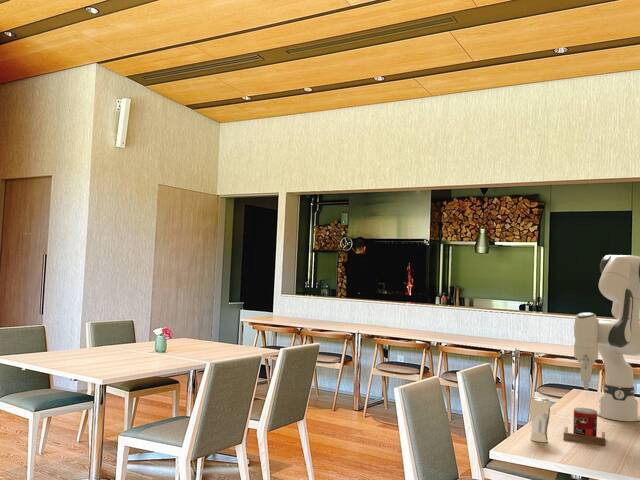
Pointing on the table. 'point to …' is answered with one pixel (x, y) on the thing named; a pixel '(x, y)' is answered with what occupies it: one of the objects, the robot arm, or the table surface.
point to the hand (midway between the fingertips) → (586, 388)
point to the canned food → (585, 422)
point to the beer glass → (539, 418)
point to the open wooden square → (584, 438)
